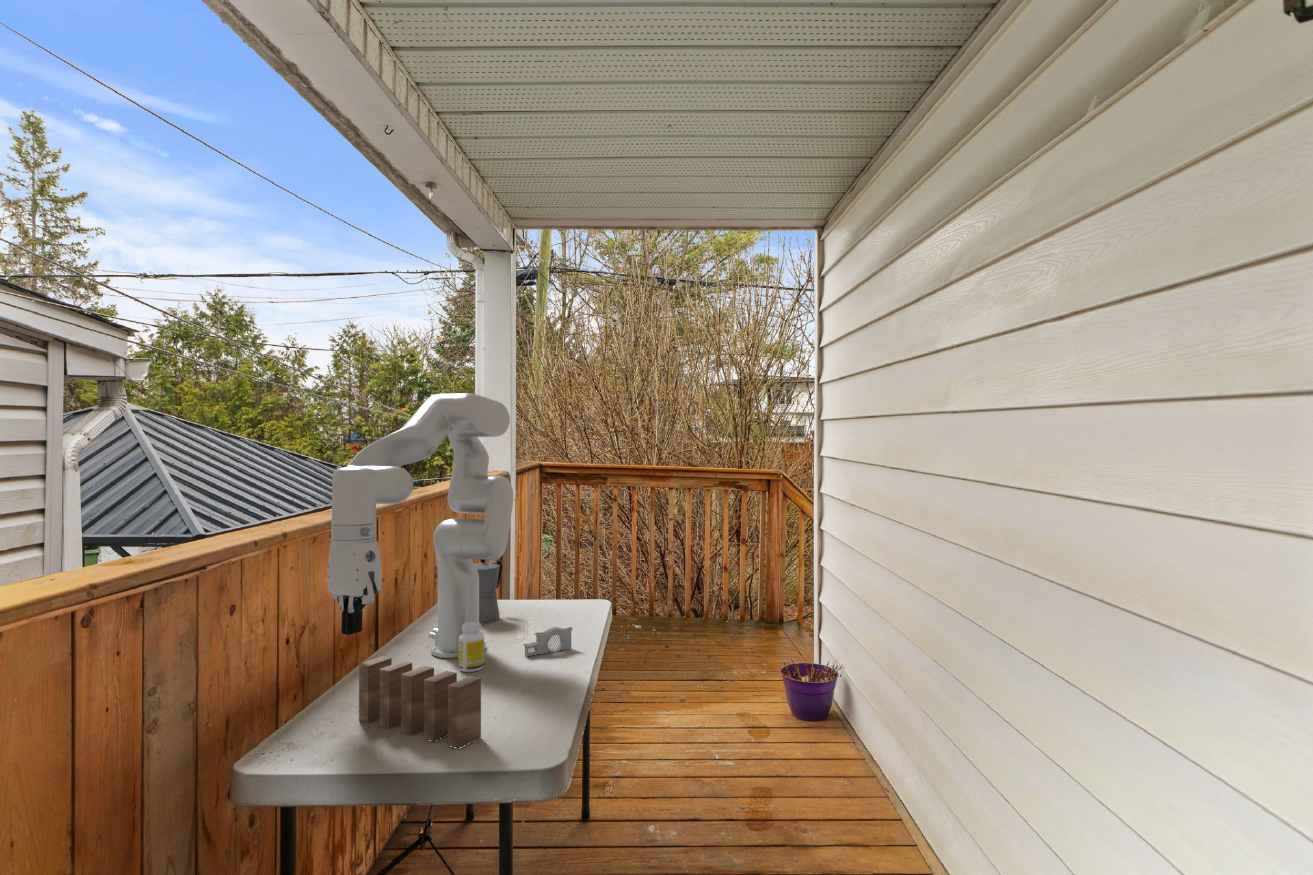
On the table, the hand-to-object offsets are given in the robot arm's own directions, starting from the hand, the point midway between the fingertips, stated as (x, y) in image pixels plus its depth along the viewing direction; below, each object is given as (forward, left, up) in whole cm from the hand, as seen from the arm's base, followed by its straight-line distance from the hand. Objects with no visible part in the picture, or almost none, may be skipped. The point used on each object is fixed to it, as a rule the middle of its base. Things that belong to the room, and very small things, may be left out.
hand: (351, 632), depth 120 cm
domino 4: (+22, +1, -15) cm, 27 cm away
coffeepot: (-24, +61, -15) cm, 67 cm away
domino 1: (+6, +1, -15) cm, 16 cm away
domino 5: (+28, +1, -15) cm, 31 cm away
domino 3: (+17, +1, -15) cm, 22 cm away
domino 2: (+11, +1, -15) cm, 18 cm away
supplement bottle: (+3, +28, -15) cm, 31 cm away
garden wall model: (+11, +45, -15) cm, 48 cm away
